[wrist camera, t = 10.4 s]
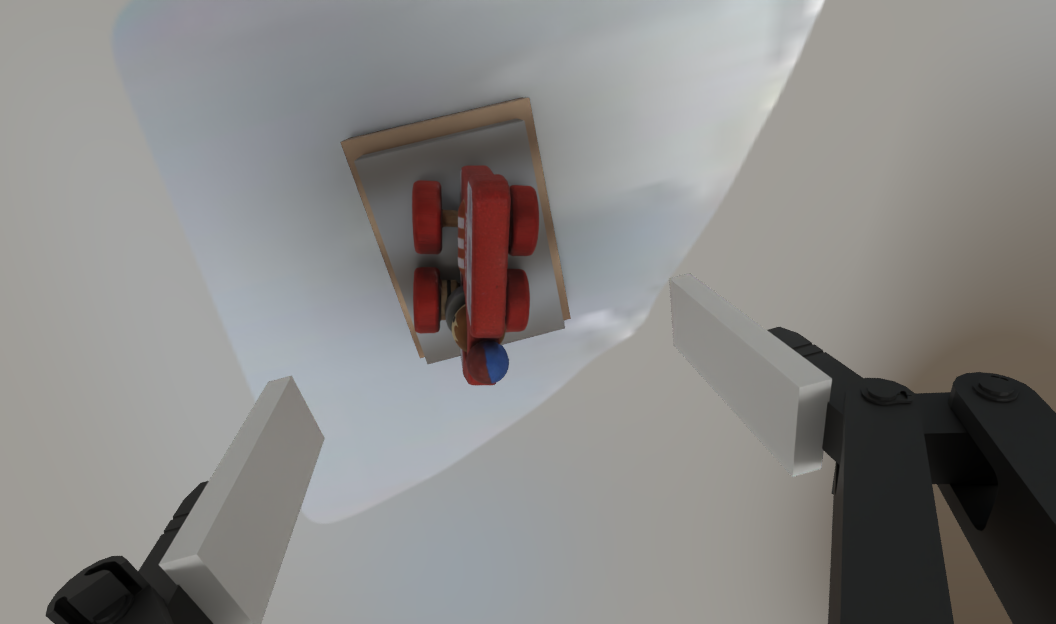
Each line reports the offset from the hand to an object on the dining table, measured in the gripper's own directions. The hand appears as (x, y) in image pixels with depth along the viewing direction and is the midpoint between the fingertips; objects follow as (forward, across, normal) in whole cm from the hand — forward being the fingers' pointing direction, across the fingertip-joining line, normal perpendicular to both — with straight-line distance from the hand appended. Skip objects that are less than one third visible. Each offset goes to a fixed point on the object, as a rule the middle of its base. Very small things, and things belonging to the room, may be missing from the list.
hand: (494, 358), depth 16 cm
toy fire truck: (+15, 0, -1) cm, 15 cm away
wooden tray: (+21, 0, -1) cm, 21 cm away
